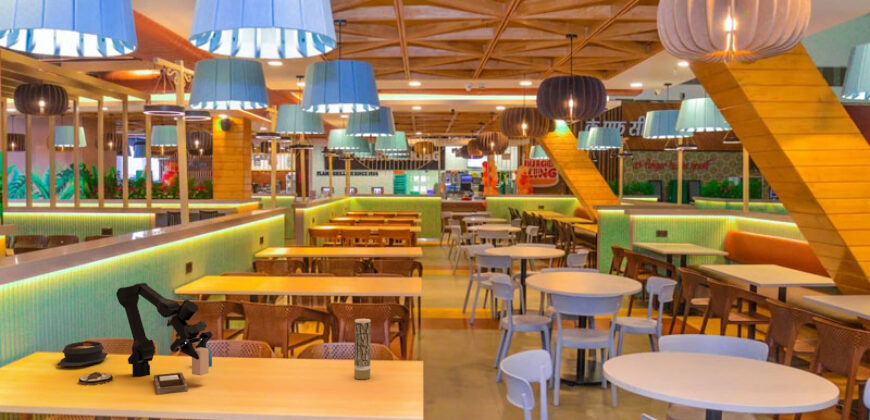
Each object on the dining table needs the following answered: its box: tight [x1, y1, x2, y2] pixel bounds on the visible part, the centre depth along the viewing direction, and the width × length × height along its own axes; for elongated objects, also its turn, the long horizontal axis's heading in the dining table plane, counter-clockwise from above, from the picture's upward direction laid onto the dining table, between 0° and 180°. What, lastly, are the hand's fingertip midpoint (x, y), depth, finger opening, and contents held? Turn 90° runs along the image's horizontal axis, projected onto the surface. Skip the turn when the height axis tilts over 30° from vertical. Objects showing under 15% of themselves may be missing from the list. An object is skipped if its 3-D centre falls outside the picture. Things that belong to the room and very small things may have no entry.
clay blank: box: [191, 347, 210, 377], centre depth 286 cm, size 4×4×10 cm
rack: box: [153, 371, 189, 396], centre depth 285 cm, size 21×11×3 cm, turn 25°
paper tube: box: [353, 318, 372, 381], centre depth 303 cm, size 7×7×25 cm
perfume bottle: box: [206, 342, 213, 368], centre depth 317 cm, size 6×6×12 cm
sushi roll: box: [78, 371, 113, 386], centre depth 293 cm, size 15×15×4 cm
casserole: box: [57, 340, 108, 367], centre depth 322 cm, size 25×19×8 cm
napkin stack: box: [159, 375, 179, 381], centre depth 289 cm, size 7×7×2 cm
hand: (202, 357), depth 285 cm, fingers closed on clay blank, 4 cm apart
